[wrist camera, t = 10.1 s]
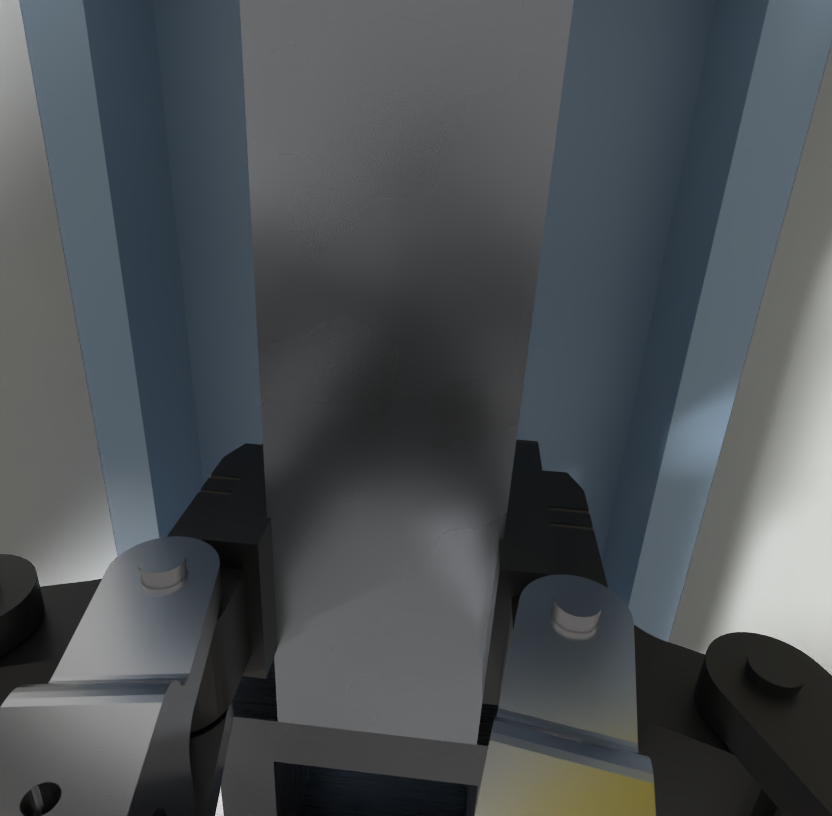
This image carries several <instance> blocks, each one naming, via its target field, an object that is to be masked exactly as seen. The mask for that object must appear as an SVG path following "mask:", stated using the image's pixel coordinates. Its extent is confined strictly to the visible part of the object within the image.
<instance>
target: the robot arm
mask: <svg viewBox="0 0 832 816" xmlns="http://www.w3.org/2000/svg"><path fill="white" fill-rule="evenodd" d="M277 648H278V647H277V627H276V606H275V586H274V566H273V546H272V526H271V518H267V510H266V492H265V473H264V454H263V443H262V445H260V444H249V443H245V444H244V445H242V446H240V447H239V448H237V449H236V450H234V451H232V452H231V453H229V454H227V455H226V456H224V457H223V458H222V460H221V461H220V462H219V464H218V465H217V467H216V468H215V469H214V471H213V472H212V474H211V478H208V479H207V481H206V482H205V483H204V485H203V486H202V488H201V492H198V493H197V495H196V496H195V498H194V499H193V500H192V502H191V503H190V505H189V506H188V507H187V509H186V510H185V512H184V513H183V514H182V516H181V517H180V519H179V520H178V521H177V523H176V524H175V526H174V527H173V528H172V530H171V531H170V533H169V534H168V536H167V537H162V538H157V539H153V540H149V541H146V542H143V543H140V544H138V545H136V546H133V547H131V548H130V549H128V550H126V551H125V552H123V553H122V554H120V555H119V556H118V557H117V558H116V559H115V560H114V561H113V562H112V563H111V564H110V566H109V567H108V569H107V570H106V572H105V574H104V576H103V578H102V579H98V580H92V581H85V582H77V583H68V584H60V585H52V586H43V587H40V585H39V581H38V577H37V573H36V570H35V567H34V566H33V565H32V563H30V562H29V561H28V560H26V559H24V558H21V557H19V556H14V555H7V554H0V816H215V813H216V807H217V802H218V797H219V792H220V787H221V781H222V776H223V771H224V766H225V760H226V755H227V750H228V745H229V740H230V734H231V729H232V724H233V717H234V710H233V698H234V696H235V693H236V691H237V688H238V686H239V684H240V681H241V679H242V676H247V677H256V678H265V679H266V678H267V675H268V672H269V670H270V667H271V664H272V661H273V659H274V656H275V653H276V651H277ZM482 703H483V704H492V705H499V706H498V711H497V716H495V718H494V722H493V726H492V731H491V736H490V741H489V746H488V751H487V756H486V761H485V766H484V771H483V776H482V781H481V786H480V791H479V796H478V801H477V806H476V811H475V816H832V676H831V675H830V674H829V673H828V672H827V671H826V670H825V669H824V668H823V667H822V666H820V665H819V664H818V663H817V662H816V661H814V660H813V659H812V658H811V657H809V656H808V655H806V654H805V653H803V652H802V651H800V650H798V649H797V648H795V647H793V646H791V645H789V644H787V643H785V642H782V641H780V640H778V639H775V638H772V637H769V636H765V635H760V634H756V633H747V632H735V633H729V634H725V635H722V636H720V637H718V638H717V639H715V640H714V641H713V642H712V643H711V644H710V645H709V647H708V649H707V651H706V654H705V655H704V654H701V653H699V652H696V651H693V650H690V649H687V648H684V647H681V646H678V645H675V644H672V643H669V642H666V641H664V640H661V639H659V638H656V637H654V636H652V635H650V634H648V633H646V632H645V631H643V630H642V629H640V628H638V627H637V626H636V625H634V621H633V616H632V614H631V611H630V609H629V608H628V606H627V605H626V603H625V602H624V601H623V600H622V599H621V598H620V597H619V596H618V595H617V594H616V593H614V592H613V591H612V590H610V589H609V588H608V585H607V581H606V577H605V573H604V569H603V565H602V561H601V557H600V553H599V549H598V545H597V541H596V537H595V533H594V530H593V525H592V521H591V517H590V514H589V508H588V504H587V500H586V496H585V492H584V490H583V489H582V488H581V487H580V486H579V484H578V483H577V482H576V481H575V480H574V479H573V478H572V477H571V476H570V475H569V474H568V473H567V472H556V471H545V470H542V464H541V458H540V451H539V444H538V441H530V440H518V439H516V447H515V455H514V462H513V470H512V478H511V486H510V493H509V501H508V509H507V516H506V524H505V532H504V539H503V541H502V540H499V543H498V551H497V559H496V566H495V574H494V582H493V590H492V598H491V606H490V614H489V622H488V630H487V638H486V645H485V653H484V661H483V669H482Z"/></svg>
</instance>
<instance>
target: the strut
mask: <svg viewBox="0 0 832 816" xmlns="http://www.w3.org/2000/svg"><path fill="white" fill-rule="evenodd" d="M573 2H574V0H240V19H241V38H242V57H243V76H244V95H245V113H246V132H247V151H248V170H249V189H250V208H251V227H252V246H253V265H254V284H255V303H256V321H257V340H258V359H259V378H260V397H261V416H262V435H263V454H264V473H265V492H266V510H267V518H271V526H272V546H273V566H274V586H275V606H276V627H277V647H278V648H277V651H276V653H275V656H274V659H273V661H272V664H271V667H270V670H269V672H268V675H267V678H266V679H265V678H256V677H247V676H242V679H241V681H240V684H239V686H238V688H237V691H236V693H235V696H234V698H233V710H234V717H233V724H232V729H231V734H230V740H229V745H228V750H227V755H226V760H225V766H224V771H223V776H222V781H221V792H222V801H223V810H224V816H475V811H476V806H477V801H478V796H479V791H480V786H481V781H482V776H483V771H484V766H485V761H486V756H487V751H488V746H489V741H490V736H491V731H492V726H493V722H494V718H495V716H497V711H498V706H499V705H492V704H483V703H482V669H483V661H484V653H485V645H486V638H487V630H488V622H489V614H490V606H491V598H492V590H493V582H494V574H495V566H496V559H497V551H498V543H499V540H502V541H503V539H504V532H505V524H506V516H507V509H508V501H509V493H510V486H511V478H512V470H513V462H514V455H515V447H516V439H517V432H518V424H519V416H520V409H521V401H522V393H523V386H524V378H525V370H526V363H527V355H528V347H529V340H530V332H531V324H532V317H533V309H534V301H535V294H536V286H537V278H538V270H539V263H540V255H541V247H542V240H543V232H544V224H545V217H546V209H547V201H548V194H549V186H550V178H551V171H552V163H553V155H554V148H555V140H556V132H557V125H558V117H559V109H560V101H561V94H562V86H563V78H564V71H565V63H566V55H567V48H568V40H569V32H570V25H571V17H572V9H573Z"/></svg>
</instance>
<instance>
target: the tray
mask: <svg viewBox="0 0 832 816" xmlns="http://www.w3.org/2000/svg"><path fill="white" fill-rule="evenodd" d="M19 1H20V7H21V12H22V18H23V24H24V29H25V35H26V41H27V46H28V52H29V58H30V63H31V69H32V75H33V80H34V86H35V92H36V97H37V103H38V109H39V114H40V120H41V126H42V131H43V137H44V143H45V148H46V154H47V159H48V165H49V171H50V176H51V182H52V188H53V193H54V199H55V205H56V210H57V216H58V222H59V227H60V233H61V239H62V244H63V250H64V256H65V261H66V267H67V273H68V278H69V284H70V290H71V295H72V301H73V307H74V312H75V318H76V323H77V329H78V335H79V340H80V346H81V352H82V357H83V363H84V369H85V374H86V380H87V386H88V391H89V397H90V403H91V408H92V414H93V420H94V425H95V431H96V437H97V442H98V448H99V454H100V459H101V465H102V470H103V476H104V482H105V487H106V493H107V499H108V504H109V510H110V516H111V521H112V527H113V533H114V538H115V544H116V550H117V555H118V556H119V555H120V554H122V553H123V552H125V551H126V550H128V549H130V548H131V547H133V546H136V545H138V544H140V543H143V542H146V541H149V540H153V539H157V538H162V537H167V536H168V534H169V533H170V531H171V530H172V528H173V527H174V526H175V524H176V523H177V521H178V520H179V519H180V517H181V516H182V514H183V513H184V512H185V510H186V509H187V507H188V506H189V505H190V503H191V502H192V500H193V499H194V498H195V496H196V495H197V493H198V492H201V488H202V486H203V485H204V483H205V482H206V481H207V479H208V478H211V474H212V472H213V471H214V469H215V468H216V467H217V465H218V464H219V462H220V461H221V460H222V458H223V457H224V456H226V455H227V454H229V453H231V452H232V451H234V450H236V449H237V448H239V447H240V446H242V445H244V444H245V443H249V444H260V445H262V443H263V435H262V416H261V397H260V378H259V359H258V340H257V321H256V303H255V284H254V265H253V246H252V227H251V208H250V189H249V170H248V151H247V132H246V113H245V95H244V76H243V57H242V38H241V19H240V0H19ZM831 44H832V0H574V2H573V9H572V17H571V25H570V32H569V40H568V48H567V55H566V63H565V71H564V78H563V86H562V94H561V101H560V109H559V117H558V125H557V132H556V140H555V148H554V155H553V163H552V171H551V178H550V186H549V194H548V201H547V209H546V217H545V224H544V232H543V240H542V247H541V255H540V263H539V270H538V278H537V286H536V294H535V301H534V309H533V317H532V324H531V332H530V340H529V347H528V355H527V363H526V370H525V378H524V386H523V393H522V401H521V409H520V416H519V424H518V432H517V439H518V440H530V441H538V444H539V451H540V458H541V464H542V470H545V471H556V472H567V473H568V474H569V475H570V476H571V477H572V478H573V479H574V480H575V481H576V482H577V483H578V484H579V486H580V487H581V488H582V489H583V490H584V492H585V496H586V500H587V504H588V508H589V514H590V517H591V521H592V525H593V530H594V533H595V537H596V541H597V545H598V549H599V553H600V557H601V561H602V565H603V569H604V573H605V577H606V581H607V585H608V588H609V589H610V590H612V591H613V592H614V593H616V594H617V595H618V596H619V597H620V598H621V599H622V600H623V601H624V602H625V603H626V605H627V606H628V608H629V609H630V611H631V614H632V616H633V621H634V625H636V626H637V627H638V628H640V629H642V630H643V631H645V632H646V633H648V634H650V635H652V636H654V637H656V638H659V639H661V640H664V641H666V642H668V641H669V638H670V634H671V630H672V627H673V623H674V619H675V616H676V612H677V608H678V605H679V601H680V597H681V594H682V590H683V586H684V583H685V579H686V575H687V572H688V568H689V564H690V561H691V557H692V553H693V550H694V546H695V542H696V539H697V535H698V531H699V528H700V524H701V520H702V517H703V513H704V509H705V506H706V502H707V498H708V495H709V491H710V487H711V484H712V480H713V476H714V473H715V469H716V465H717V462H718V458H719V454H720V451H721V447H722V443H723V440H724V436H725V432H726V429H727V425H728V421H729V418H730V414H731V410H732V407H733V403H734V399H735V396H736V392H737V388H738V385H739V381H740V377H741V374H742V370H743V366H744V363H745V359H746V355H747V352H748V348H749V344H750V341H751V337H752V333H753V330H754V326H755V322H756V319H757V315H758V311H759V308H760V304H761V300H762V297H763V293H764V289H765V286H766V282H767V278H768V275H769V271H770V267H771V264H772V260H773V256H774V253H775V249H776V245H777V242H778V238H779V234H780V231H781V227H782V223H783V220H784V216H785V212H786V209H787V205H788V201H789V198H790V194H791V190H792V187H793V183H794V179H795V176H796V172H797V168H798V165H799V161H800V157H801V154H802V150H803V146H804V143H805V139H806V135H807V132H808V128H809V124H810V121H811V117H812V113H813V110H814V106H815V102H816V99H817V95H818V91H819V88H820V84H821V80H822V77H823V73H824V69H825V66H826V62H827V58H828V55H829V51H830V47H831Z"/></svg>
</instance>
